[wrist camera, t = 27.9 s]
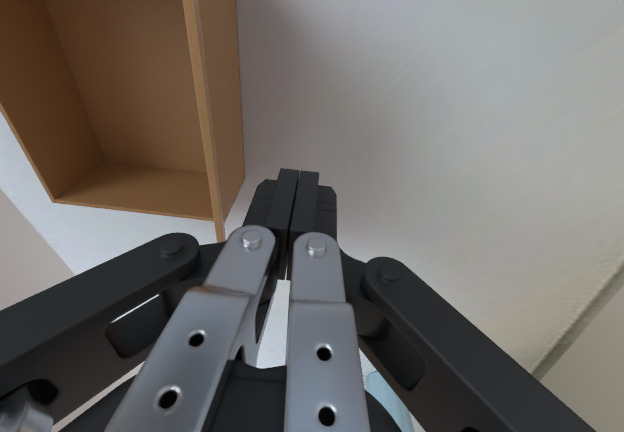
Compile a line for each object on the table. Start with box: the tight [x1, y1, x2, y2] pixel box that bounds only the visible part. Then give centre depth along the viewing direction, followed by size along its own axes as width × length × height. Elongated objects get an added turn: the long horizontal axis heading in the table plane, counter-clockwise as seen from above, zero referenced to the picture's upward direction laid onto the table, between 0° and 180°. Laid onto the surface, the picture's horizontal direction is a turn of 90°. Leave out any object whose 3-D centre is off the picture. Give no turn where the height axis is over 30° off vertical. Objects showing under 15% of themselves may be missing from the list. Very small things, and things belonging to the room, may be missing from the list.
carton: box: [0, 0, 245, 222], centre depth 19 cm, size 16×13×6 cm
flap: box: [183, 0, 226, 243], centre depth 14 cm, size 16×6×1 cm
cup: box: [367, 371, 415, 432], centre depth 45 cm, size 8×8×10 cm
